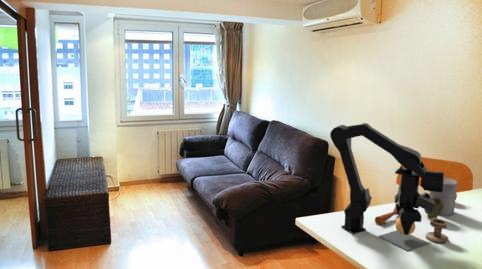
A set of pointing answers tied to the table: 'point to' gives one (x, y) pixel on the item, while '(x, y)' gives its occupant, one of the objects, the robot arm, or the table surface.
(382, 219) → the kendama
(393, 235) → the mat
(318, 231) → the table surface
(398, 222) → the rubber ball
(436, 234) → the ball tee
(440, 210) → the cup
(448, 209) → the pillar candle
